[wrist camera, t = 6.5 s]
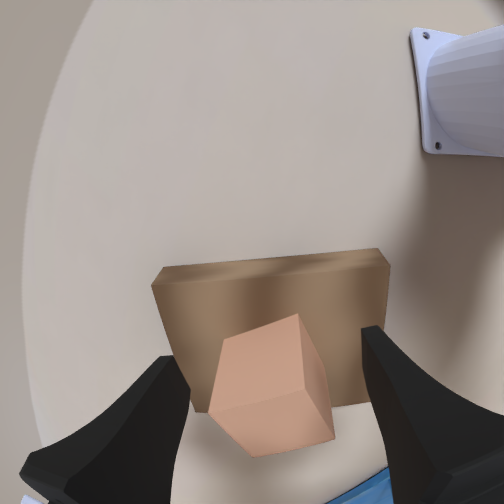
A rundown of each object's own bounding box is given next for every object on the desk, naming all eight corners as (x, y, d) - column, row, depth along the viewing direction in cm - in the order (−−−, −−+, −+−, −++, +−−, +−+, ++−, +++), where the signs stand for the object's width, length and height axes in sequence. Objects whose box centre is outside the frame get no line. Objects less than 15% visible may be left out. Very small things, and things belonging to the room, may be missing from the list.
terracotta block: (297, 313, 18) (305, 388, 13) (324, 367, 20) (335, 439, 14) (223, 339, 19) (207, 413, 14) (258, 387, 21) (252, 457, 15)
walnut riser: (377, 248, 19) (390, 265, 17) (365, 379, 24) (371, 401, 21) (163, 267, 20) (151, 285, 18) (201, 390, 25) (195, 412, 23)
